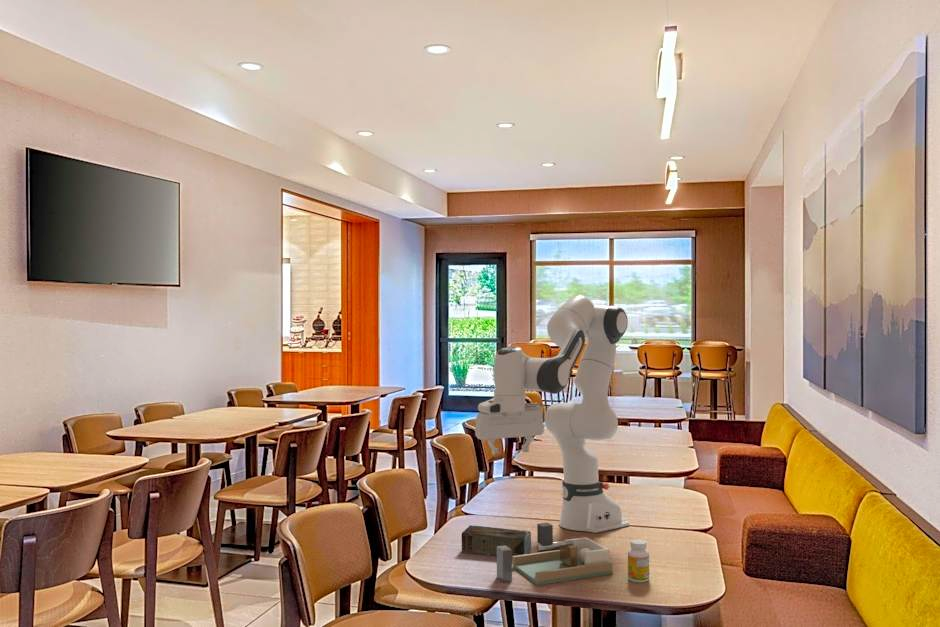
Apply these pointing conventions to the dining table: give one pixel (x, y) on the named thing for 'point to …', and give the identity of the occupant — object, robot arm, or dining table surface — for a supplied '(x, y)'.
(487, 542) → the olive storage box
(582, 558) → the ball
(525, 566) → the foosball board
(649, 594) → the dining table surface
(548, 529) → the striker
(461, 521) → the dining table surface
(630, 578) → the supplement bottle
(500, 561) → the grey tall block
